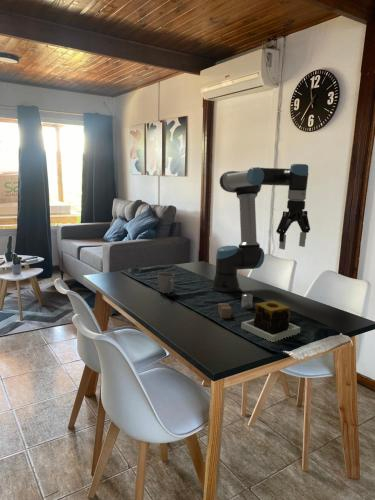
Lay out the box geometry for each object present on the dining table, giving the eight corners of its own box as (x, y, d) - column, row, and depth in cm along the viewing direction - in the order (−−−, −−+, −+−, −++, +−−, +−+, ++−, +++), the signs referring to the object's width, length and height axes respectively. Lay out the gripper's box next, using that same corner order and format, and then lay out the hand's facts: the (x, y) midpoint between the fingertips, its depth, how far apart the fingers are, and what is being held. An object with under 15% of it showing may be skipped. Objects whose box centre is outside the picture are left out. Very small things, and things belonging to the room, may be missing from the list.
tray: (241, 328, 150) (241, 322, 150) (268, 319, 160) (268, 314, 160) (272, 342, 138) (273, 336, 137) (300, 333, 147) (300, 327, 147)
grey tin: (239, 306, 176) (239, 294, 175) (246, 304, 179) (247, 292, 178) (246, 309, 172) (247, 297, 171) (254, 307, 175) (254, 295, 174)
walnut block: (218, 312, 168) (218, 303, 167) (227, 312, 168) (228, 303, 167) (221, 318, 161) (221, 308, 160) (231, 318, 161) (231, 308, 161)
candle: (269, 336, 142) (271, 311, 140) (252, 326, 151) (254, 303, 149) (289, 331, 147) (291, 307, 145) (271, 322, 156) (273, 299, 154)
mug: (154, 290, 196) (154, 273, 194) (168, 288, 201) (169, 271, 199) (165, 297, 186) (165, 278, 184) (180, 294, 191) (180, 276, 189)
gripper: (284, 201, 152) (279, 251, 156) (321, 200, 166) (316, 246, 170) (270, 199, 158) (266, 248, 162) (307, 199, 172) (303, 243, 176)
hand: (292, 247), depth 166 cm, fingers open, 13 cm apart
